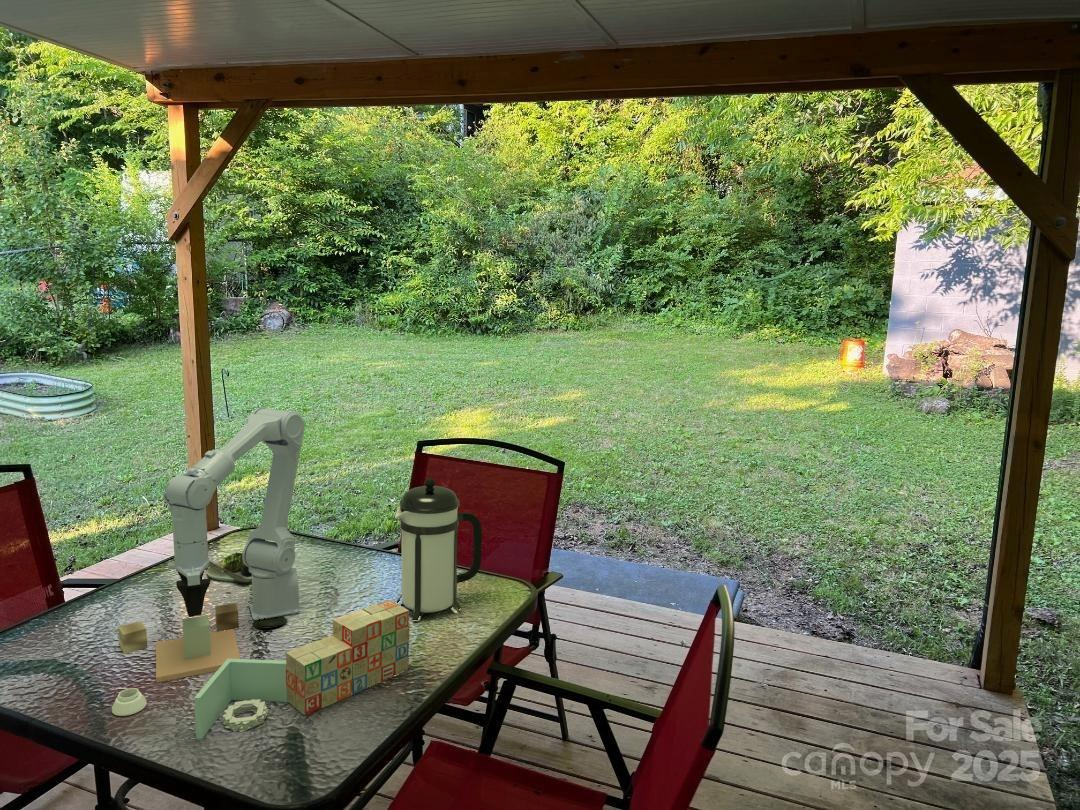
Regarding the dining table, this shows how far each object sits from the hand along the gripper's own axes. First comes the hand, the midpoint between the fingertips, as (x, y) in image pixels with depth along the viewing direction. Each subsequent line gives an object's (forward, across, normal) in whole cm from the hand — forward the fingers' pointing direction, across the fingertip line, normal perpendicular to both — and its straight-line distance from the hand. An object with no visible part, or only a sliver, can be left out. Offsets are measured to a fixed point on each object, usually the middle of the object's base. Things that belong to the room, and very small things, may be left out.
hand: (194, 607), depth 138 cm
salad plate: (+10, -38, +14) cm, 42 cm away
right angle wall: (+10, +26, +7) cm, 29 cm away
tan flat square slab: (+9, +2, 0) cm, 9 cm away
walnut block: (+10, -9, +6) cm, 15 cm away
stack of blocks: (+10, +24, +24) cm, 35 cm away
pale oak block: (+10, -7, -11) cm, 16 cm away
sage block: (+8, +2, 0) cm, 8 cm away
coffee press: (+10, -1, +48) cm, 49 cm away
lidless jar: (+10, +15, -11) cm, 21 cm away
